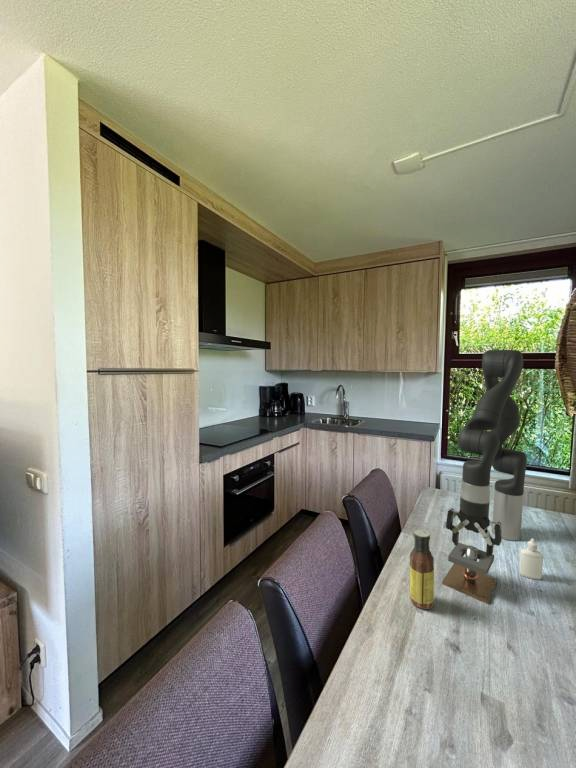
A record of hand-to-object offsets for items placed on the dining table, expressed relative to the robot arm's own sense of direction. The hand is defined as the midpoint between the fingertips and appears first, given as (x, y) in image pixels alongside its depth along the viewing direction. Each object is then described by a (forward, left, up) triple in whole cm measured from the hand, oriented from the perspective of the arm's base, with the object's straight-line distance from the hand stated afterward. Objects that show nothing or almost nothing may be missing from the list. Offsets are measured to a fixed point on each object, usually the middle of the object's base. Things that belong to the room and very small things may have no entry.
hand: (471, 549), depth 98 cm
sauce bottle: (+18, -8, -11) cm, 22 cm away
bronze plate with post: (0, 0, -11) cm, 11 cm away
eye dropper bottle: (-17, +13, -11) cm, 24 cm away
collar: (0, 0, -3) cm, 3 cm away
